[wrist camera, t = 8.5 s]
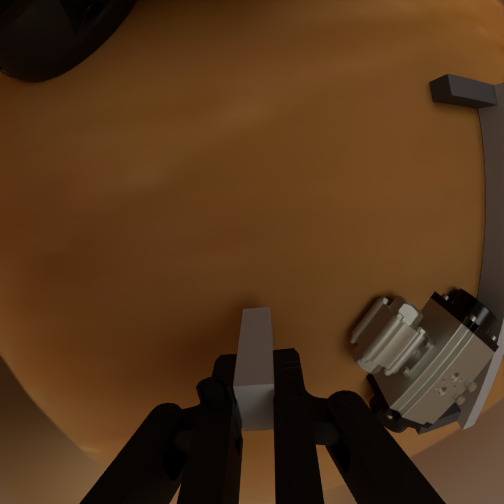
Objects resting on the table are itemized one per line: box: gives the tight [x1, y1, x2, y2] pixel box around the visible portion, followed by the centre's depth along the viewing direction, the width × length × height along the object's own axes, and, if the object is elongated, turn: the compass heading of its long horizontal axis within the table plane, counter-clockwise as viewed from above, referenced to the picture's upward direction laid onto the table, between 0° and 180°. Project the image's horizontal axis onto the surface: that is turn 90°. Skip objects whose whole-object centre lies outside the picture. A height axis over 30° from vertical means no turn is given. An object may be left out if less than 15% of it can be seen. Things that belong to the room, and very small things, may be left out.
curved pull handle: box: [416, 74, 504, 435], centre depth 17 cm, size 30×10×4 cm, turn 6°
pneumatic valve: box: [350, 289, 499, 433], centre depth 18 cm, size 6×12×12 cm
